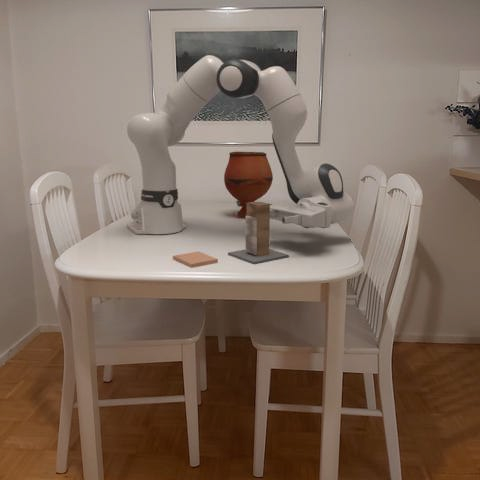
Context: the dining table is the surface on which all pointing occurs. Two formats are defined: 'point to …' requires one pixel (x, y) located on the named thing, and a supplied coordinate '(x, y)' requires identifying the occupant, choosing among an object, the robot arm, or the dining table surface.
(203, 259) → the tile
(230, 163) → the goblet
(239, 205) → the smartphone
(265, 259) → the rest mat
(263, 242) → the tall wooden block
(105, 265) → the dining table surface
